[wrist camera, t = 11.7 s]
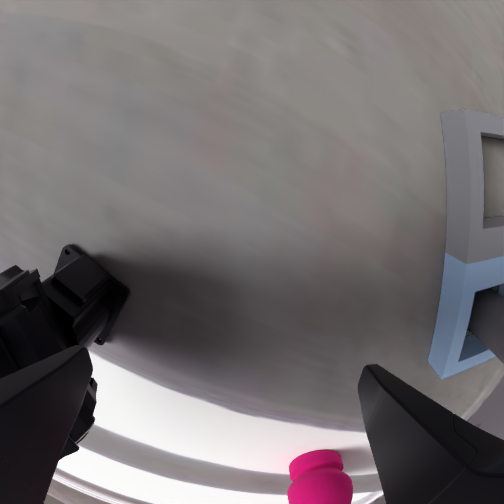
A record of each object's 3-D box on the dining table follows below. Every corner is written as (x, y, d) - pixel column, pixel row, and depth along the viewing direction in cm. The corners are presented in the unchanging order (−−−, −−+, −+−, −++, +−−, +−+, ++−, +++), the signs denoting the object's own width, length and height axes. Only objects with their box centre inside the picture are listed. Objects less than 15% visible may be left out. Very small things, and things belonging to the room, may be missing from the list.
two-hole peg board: (494, 336, 23) (509, 349, 20) (427, 361, 23) (441, 379, 20) (513, 125, 16) (534, 125, 13) (440, 112, 17) (463, 108, 14)
